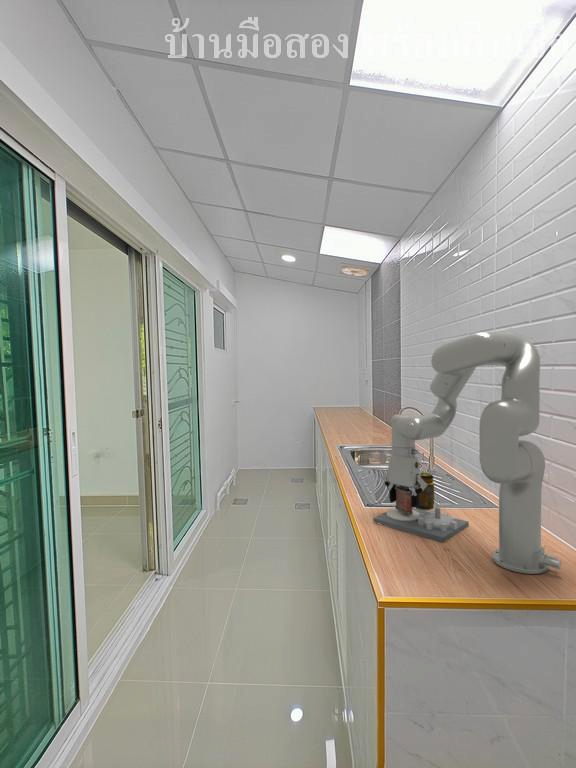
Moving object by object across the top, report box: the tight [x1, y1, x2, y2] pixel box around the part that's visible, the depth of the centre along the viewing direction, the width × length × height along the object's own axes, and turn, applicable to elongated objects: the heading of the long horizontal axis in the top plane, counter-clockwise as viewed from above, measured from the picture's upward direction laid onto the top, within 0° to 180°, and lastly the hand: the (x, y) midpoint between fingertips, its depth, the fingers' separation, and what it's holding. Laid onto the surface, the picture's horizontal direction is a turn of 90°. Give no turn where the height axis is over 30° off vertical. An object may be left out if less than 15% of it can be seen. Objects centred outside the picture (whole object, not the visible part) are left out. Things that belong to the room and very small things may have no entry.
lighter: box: [394, 485, 413, 515], centre depth 141 cm, size 8×3×10 cm, turn 16°
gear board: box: [372, 507, 470, 543], centre depth 137 cm, size 24×18×6 cm
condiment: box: [415, 472, 437, 512], centre depth 154 cm, size 7×8×12 cm
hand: (403, 503), depth 141 cm, fingers closed on lighter, 7 cm apart
